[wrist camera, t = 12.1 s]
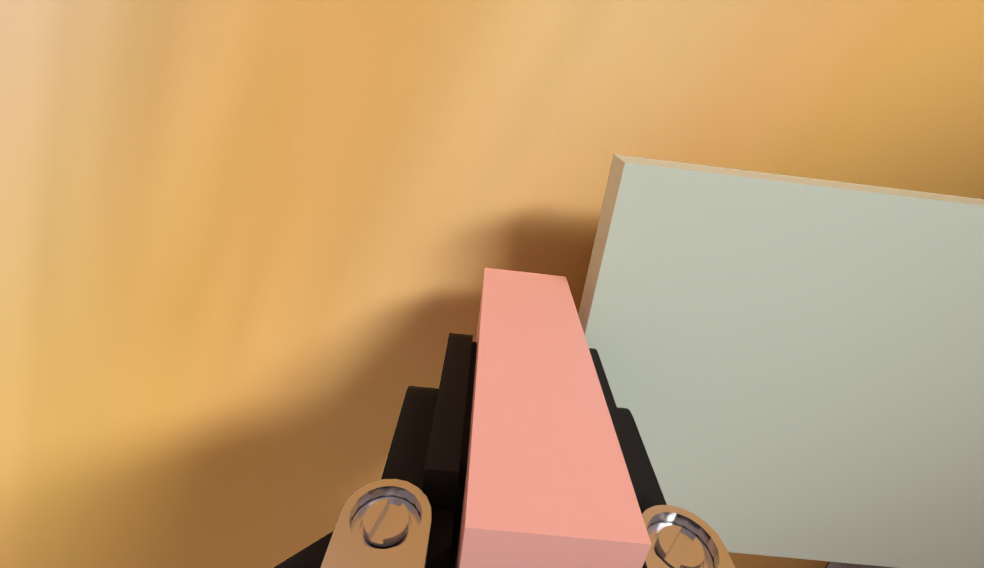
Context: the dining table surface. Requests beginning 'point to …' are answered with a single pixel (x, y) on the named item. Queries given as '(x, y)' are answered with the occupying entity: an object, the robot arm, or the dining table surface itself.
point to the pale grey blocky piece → (739, 376)
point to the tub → (852, 565)
